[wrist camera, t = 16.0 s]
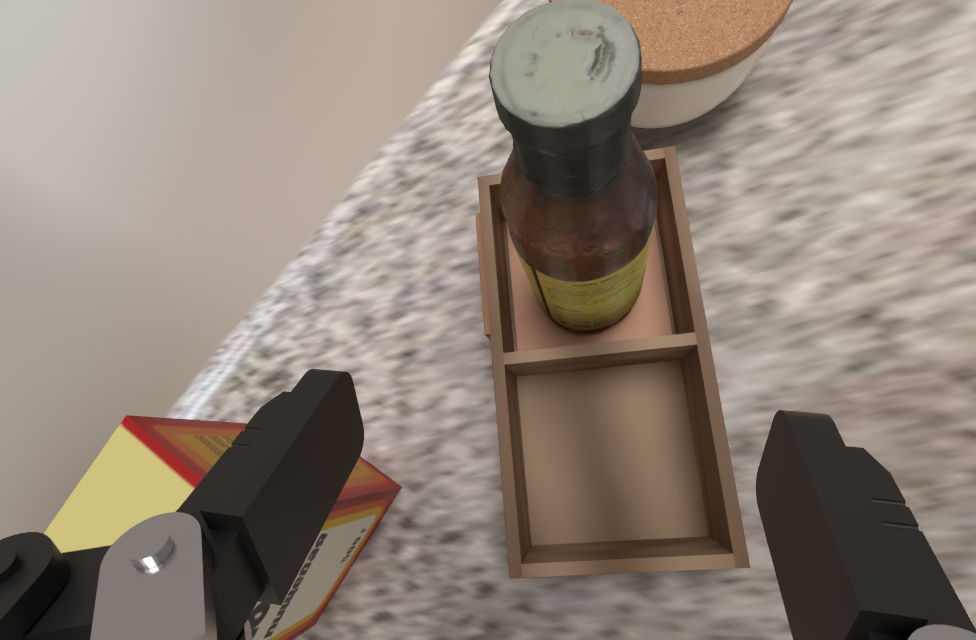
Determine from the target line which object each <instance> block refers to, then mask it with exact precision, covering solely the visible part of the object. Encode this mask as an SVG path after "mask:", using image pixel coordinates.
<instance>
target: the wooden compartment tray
mask: <svg viewBox="0 0 976 640" xmlns="http://www.w3.org/2000/svg"><path fill="white" fill-rule="evenodd" d="M644 153H645V154H646V156H647V158H648V160H649V162H650V164H651V166H652V168H653V170H654V173H655V177H656V181H657V189H658V206H657V213H656V220H655V225H654V229H653V235H652V239H651V244H650V249H649V254H648V259H647V263H646V269H645V274H644V279H643V284H642V288H641V292H640V295H639V297H638V299H637V301H636V303H635V304H634V306H633V307H632V309H631V311H630V313H629V314H628V315H627V316H626V317H625V318H623V319H622V320H621V321H620V322H618V323H617V324H615V325H613V326H611V327H609V328H608V329H605V330H603V331H601V332H596V333H585V332H574V331H572V330H568V329H565V328H563V327H561V326H559V325H558V324H556V323H555V322H553V321H552V319H551V318H550V316H549V315H547V314H546V313H545V312H544V311H543V309H542V308H541V306H540V305H539V303H538V301H537V299H536V296H535V294H534V292H533V289H532V287H531V285H530V282H529V280H528V278H527V275H526V273H525V271H524V268H523V266H522V264H521V261H520V259H519V257H518V254H517V252H516V250H515V248H514V245H513V243H512V240H511V237H510V233H509V227H508V224H507V222H506V219H505V217H504V214H503V210H502V203H501V199H500V196H499V192H500V184H501V177H502V173H501V174H495V175H489V176H482V177H478V188H479V201H480V213H477V214H476V227H477V240H478V253H479V266H480V279H481V291H482V304H483V317H484V330H485V335H486V336H487V337H488V338H489V339H490V340H491V350H492V363H493V375H494V388H495V400H496V413H497V425H498V437H499V450H500V462H501V475H502V487H503V500H504V512H505V525H506V537H507V549H508V562H509V574H510V578H528V577H551V576H573V575H596V574H618V573H641V572H663V571H686V570H708V569H731V568H750V564H749V558H748V553H747V547H746V542H745V536H744V530H743V525H742V519H741V514H740V508H739V502H738V497H737V491H736V486H735V480H734V474H733V469H732V463H731V458H730V452H729V446H728V441H727V435H726V430H725V424H724V418H723V413H722V407H721V402H720V396H719V390H718V385H717V379H716V374H715V368H714V362H713V357H712V351H711V346H710V340H709V334H708V329H707V323H706V317H705V312H704V306H703V301H702V295H701V289H700V284H699V278H698V273H697V267H696V261H695V256H694V250H693V245H692V239H691V233H690V228H689V222H688V217H687V211H686V205H685V200H684V194H683V189H682V183H681V177H680V172H679V166H678V161H677V155H676V149H675V146H671V147H665V148H658V149H652V150H646V151H644Z"/></svg>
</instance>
